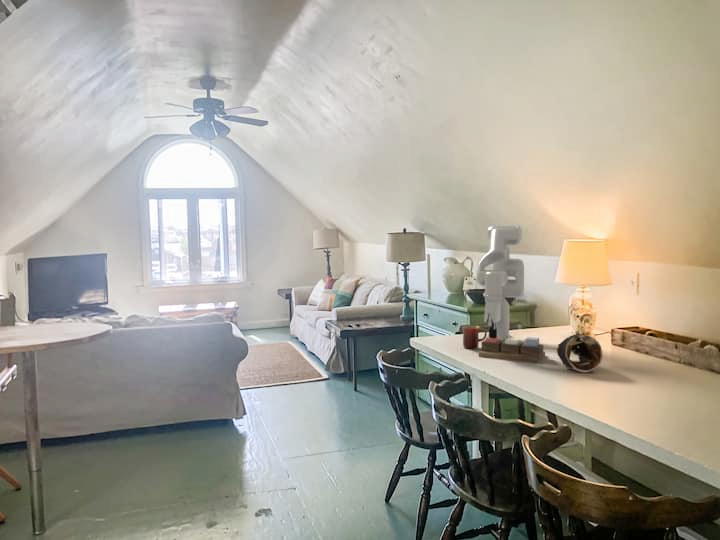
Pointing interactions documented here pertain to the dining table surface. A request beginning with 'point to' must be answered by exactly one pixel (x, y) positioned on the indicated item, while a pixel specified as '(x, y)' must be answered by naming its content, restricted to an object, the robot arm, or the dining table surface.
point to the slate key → (532, 342)
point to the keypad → (512, 351)
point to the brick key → (493, 339)
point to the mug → (472, 336)
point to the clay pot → (580, 352)
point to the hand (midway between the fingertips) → (492, 337)
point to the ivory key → (512, 341)
